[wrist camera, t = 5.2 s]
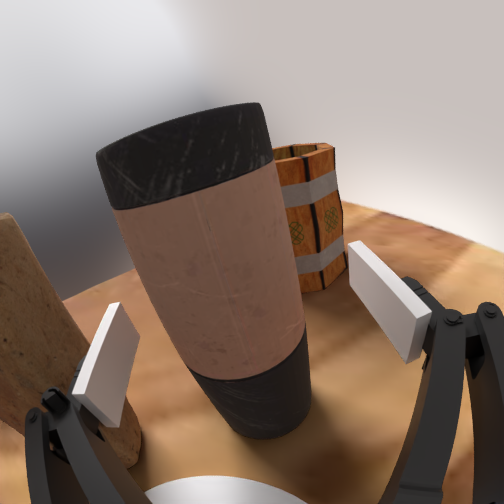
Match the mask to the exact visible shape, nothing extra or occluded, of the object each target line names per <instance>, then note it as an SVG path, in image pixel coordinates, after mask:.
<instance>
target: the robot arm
mask: <svg viewBox="0 0 504 504" xmlns="http://www.w3.org/2000/svg"><path fill="white" fill-rule="evenodd" d="M348 258H349V280H350V286H351V287H352V289H353V290H354V291H355V293H356V294H357V295H358V297H359V298H360V299H361V301H362V302H363V303H364V305H365V306H366V308H367V309H368V310H369V312H370V313H371V314H372V316H373V317H374V319H375V320H376V321H377V323H378V324H379V326H380V327H381V329H382V330H383V331H384V333H385V334H386V336H387V337H388V339H389V340H390V341H391V343H392V344H393V346H394V347H395V349H396V350H397V352H398V353H399V355H400V356H401V358H402V359H403V361H404V362H405V364H407V363H410V362H412V361H414V360H416V359H418V358H420V355H421V352H422V349H423V350H424V351H425V353H426V354H427V355H426V358H425V361H424V364H423V367H422V369H423V374H422V379H421V383H420V388H419V392H418V396H417V400H416V404H415V408H414V412H413V415H412V419H411V422H410V426H409V429H408V432H407V435H406V438H405V441H404V444H403V447H402V450H401V453H400V455H399V458H398V461H397V463H396V466H395V468H394V471H393V473H392V476H391V478H390V480H389V483H388V485H387V487H386V489H385V491H384V493H383V495H382V497H381V499H380V501H379V502H378V504H441V502H442V498H443V491H442V483H443V480H444V477H445V474H446V470H447V467H448V463H449V460H450V456H451V452H452V448H453V444H454V439H455V435H456V430H457V424H458V419H459V413H460V406H461V399H462V390H463V380H464V367H465V369H466V375H467V381H468V387H469V394H470V401H471V410H472V420H473V434H474V483H473V502H472V504H504V316H503V314H502V311H501V310H500V308H499V307H498V306H497V305H496V304H494V303H491V302H484V303H481V304H480V305H479V306H478V309H477V312H476V313H472V314H467V315H462V313H460V312H459V311H457V310H453V309H445V308H444V307H443V306H442V305H441V304H440V303H439V302H438V301H437V300H436V299H435V298H434V297H433V296H432V295H431V294H430V293H428V291H427V290H426V289H425V288H423V286H422V285H421V284H420V283H419V282H418V281H417V280H414V279H412V278H410V277H408V276H407V277H404V278H402V279H400V278H399V277H398V276H397V275H396V274H395V273H394V272H393V271H392V270H391V269H390V268H389V267H388V266H387V265H386V264H385V263H384V262H383V261H381V260H380V259H379V258H378V257H377V256H376V255H375V254H374V253H373V252H372V251H371V250H370V249H369V248H368V247H366V246H365V245H364V244H363V243H362V242H361V241H360V240H359V241H356V242H352V243H349V244H348ZM139 339H140V335H139V334H138V332H137V330H136V329H135V327H134V325H133V324H132V322H131V320H130V318H129V317H128V315H127V313H126V311H125V310H124V308H123V306H122V304H121V302H117V303H113V304H109V307H108V309H107V311H106V313H105V315H104V317H103V319H102V321H101V323H100V326H99V328H98V330H97V332H96V335H95V337H94V339H93V341H92V344H91V346H90V348H89V351H88V353H87V355H86V356H84V357H83V358H82V359H81V361H80V362H79V364H78V366H77V369H76V372H75V374H74V378H73V379H72V381H71V384H70V386H69V389H68V392H67V395H66V396H65V394H64V393H63V392H62V391H61V390H60V389H59V388H58V387H55V386H54V387H50V388H48V389H47V390H46V391H45V392H44V393H43V395H42V397H41V400H40V401H41V405H42V406H43V407H45V408H46V409H47V410H48V412H45V413H44V412H43V411H42V410H41V409H40V408H38V407H33V408H32V409H30V410H29V411H28V412H27V414H26V417H25V455H26V469H27V478H28V486H29V493H30V499H31V504H89V502H90V504H153V503H152V502H151V501H150V500H149V498H148V497H147V496H146V495H145V493H144V492H143V491H142V490H141V488H140V487H139V486H138V484H137V483H136V482H135V480H134V479H133V478H132V476H131V475H130V473H129V472H128V471H127V469H126V468H125V466H124V465H123V463H122V462H121V460H120V459H119V457H118V456H117V454H116V452H115V451H114V449H113V448H112V446H111V444H110V443H109V441H108V439H107V438H106V436H105V434H104V432H103V431H102V430H101V428H100V427H98V426H99V422H101V423H102V424H104V425H105V426H106V427H119V425H120V420H121V415H122V410H123V405H124V400H125V396H126V391H127V387H128V382H129V378H130V374H131V370H132V366H133V362H134V358H135V354H136V350H137V347H138V343H139ZM50 445H51V446H52V447H53V451H52V450H51V449H50ZM88 501H89V502H88Z"/></svg>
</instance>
